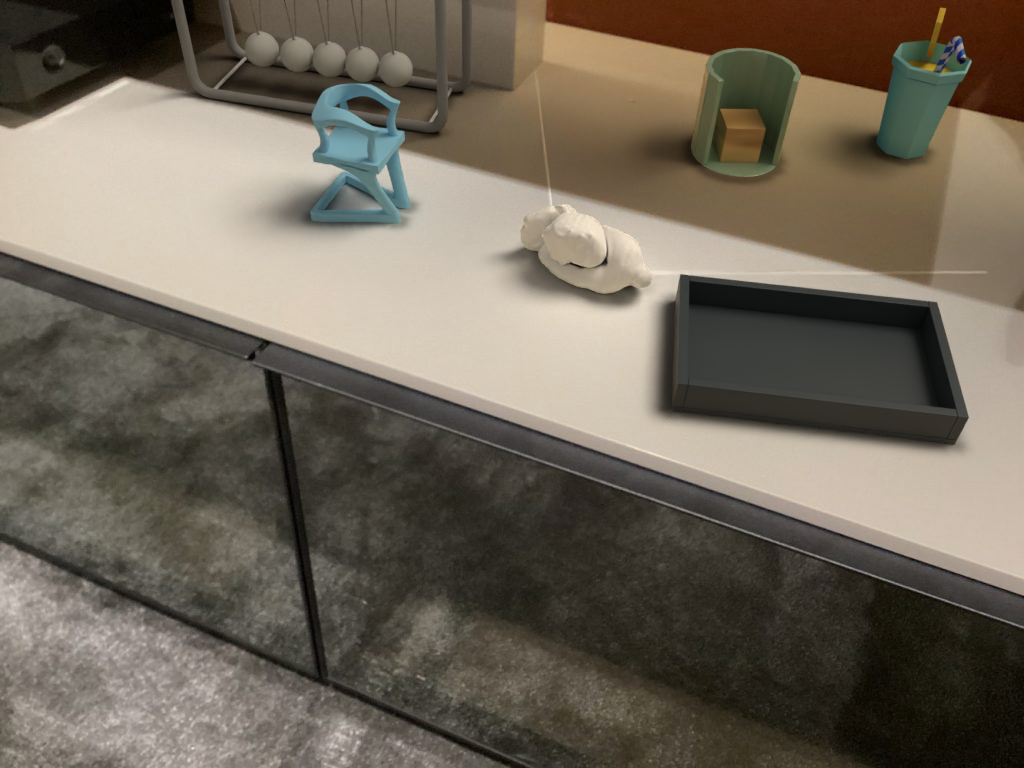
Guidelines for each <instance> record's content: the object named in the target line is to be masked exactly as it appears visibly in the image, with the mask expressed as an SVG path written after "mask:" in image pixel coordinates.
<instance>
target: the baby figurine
mask: <svg viewBox="0 0 1024 768" xmlns="http://www.w3.org/2000/svg"><path fill="white" fill-rule="evenodd" d="M523 223H524V224H523V225H522V227H521V228H520V230H519V232H520V241H521V243H522V244H523V245H524V247H525V248H526V249H527V250H530V251H532V252H533V251H534V252H538V255H537V256H538V260H539V261H540V262H541V264H542V265H543V266H545V268H546V269H548V271H549V272H550V273H551V274H552V275H554V276H555V277H556V278H557V279H560V280H562V281H564V282H566V283H567V284H570V285H572V286H575V287H577V288H581V289H587V290H590V291H592V292H595V293H597V294H603V295H605V294H606V295H607V294H613V293H616V292H618V291H621V290H623V289H624V288H626V287H628V286H632V287H634V288H637V289H645V288H648V287H649V286H650V284H651V283H652V281H653V272H652V270H650V268H649V267H647V266H646V265H645V263H644V258H643V249H642V246H641V245H640V244H639V242H638V241H637V240H636V239H635V238H634V237H633V236H632V235H630V234H628V233H626V232H624V231H622V230H621V229H617V228H615V227H611V226H609V225H605V224H603V225H601V223H600V222H599V221H598V220H597V219H596V218H594V217H593V216H591V215H589V214H585V213H581V212H580V213H579V211H577V210H576V209H575V208H574V207H572V206H571V205H570V204H567V203H563V204H556V205H555V206H553V205H551V206H550V205H549V206H546V207H544V208H542V209H539V210H537V211H536V212H533V213H530V214H527V215H525V216H524V217H523ZM605 260H606V262H607V263H606V264H603V262H604V261H605ZM571 263H572V264H571ZM577 265H578V266H577ZM579 266H580V267H579Z"/></svg>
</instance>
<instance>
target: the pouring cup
mask: <svg viewBox="0 0 1024 768" xmlns="http://www.w3.org/2000/svg"><path fill="white" fill-rule="evenodd" d="M801 77H802V72H801V71H800V69H799V67H798V65H797V64H796V63H794V62H793V61H791V60H790V59H789V58H787V57H786V56H783V55H780V54H779V53H775V52H773V51H769V50H764V49H759V48H752V47H736V48H734V47H733V48H728V49H723V50H720V51H717V52H716V53H714V54H712V55H710V56H709V57H708V59H707V61H706V63H705V67H704V74H703V78H702V83H701V88H700V94H699V99H698V104H697V111H696V115H695V121H694V122H695V123H694V128H693V133H692V138H691V145H690V149H691V150H690V151H691V155H692V156H693V157H694V159H695V160H696V161H697V162H698V163H699V164H700V165H702V166H703V167H705V168H706V169H708V170H710V171H713V172H715V173H718V174H722V175H725V176H730V177H739V178H741V177H742V178H750V177H757V176H761V175H765V174H767V173H770V172H771V171H773V170H774V169H775V168H776V167H777V166H778V164H779V161H780V158H781V155H782V151H783V148H784V144H785V139H786V135H787V131H788V127H789V124H790V120H791V116H792V112H793V108H794V105H795V100H796V96H797V92H798V88H799V85H800V81H801ZM720 109H758V112H759V114H760V116H761V119H762V121H763V123H764V126H765V128H766V130H765V134H764V138H763V143H762V147H761V151H760V155H759V159H758V163H732V162H720V161H719V158H718V155H717V152H716V149H715V146H714V144H713V140H714V135H715V130H716V125H717V120H718V115H719V110H720Z"/></svg>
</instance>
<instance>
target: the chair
mask: <svg viewBox="0 0 1024 768" xmlns="http://www.w3.org/2000/svg"><path fill="white" fill-rule="evenodd" d="M359 97H368V98H371V99H373V100H375V101H377V102H379V103H380V104H382V105H383V106H385V107H386V108H387V109H389V112H388V114H387V116H388V119H387V126H386V127H377V126H374V125H373V124H369V123H366V122H365V121H363V120H362V119H360V118H359V117H357V116H356V115H354V114H352V113H351V112H349V110H350V109H349V106H348V102H347V101H349V100H351V99H354V98H359ZM315 104H316V105H315V108H314V110H313V113H312V114H311V121H312V123H313V125H314V128H315V130H316V132H317V133H318V136H319V140H320V141H319V145H318V146H317V147H316V148H315V150H314V151H313V152H312V154H311V155H312V161H313V162H312V163H317V164H322V165H329V166H333V167H335V168H338V169H341V170H343V171H341V172H340V173H339V174H338V175H337V177H336V178H335V180H334V181H333V182H332V184H330V185H329V187H328V188H327V189H326V191H325V192H324V193H323V195H322V196H321V197H320V199H319V200H318V201H317V202H316V204H315V205H314V206H313V207H312V208H311V209H310V212H309V213H310V219H311V221H313V222H321V223H382V224H384V223H385V224H399V223H401V221H402V218H401V213H400V211H399V209H402V210H409V209H410V208H411V201H410V197H409V192H408V189H407V188H408V187H407V184H406V180H405V177H404V173H403V169H402V163H401V158H400V151H399V150H400V147H401V146H402V145H403V143H405V141H406V135H405V133H406V132H405V131H406V130H405V131H404V130H398V128H396V125H395V119H396V117H397V113H398V109H399V107H400V104H401V100H399V99H396V98H394V97H393V96H391V95H389V94H387V93H386V92H385V91H383V90H382V89H381V88H379V87H377V86H375V85H373V84H370V83H344V84H337V85H333V86H330V87H328V88H326V89H324V90H323V91H322V92H321V94H320V96H319V98H318V99H317V101H316V103H315ZM337 105H339V107H337ZM333 126H335V127H334V128H333V129H332V131H330V133H329V134H328V132H327V130H326V129H325V128H326V127H333ZM385 167H386V168H387V171H388V175H389V179H390V184H391V188H392V190H390V189H388V188H387V187H386V188H385V187H384V186H381V184H380V182H379V180H378V178H377V175H378V176H379V175H380V174H381V173H382V171H383V170H384V168H385ZM345 184H348V185H351V186H352V187H355V188H357V189H359V190H361V191H363V192H365V193H367V194H369V195H370V196H372V197H373V198H374V199H375V200H376V202H377V203H378V204H379V206H380V207H381V208H366V209H365V208H362V209H361V208H359V209H327V208H328V206H329V204H330V203H331V202H332V200H333V199H334V198H335V197H336V195H337V194H338V193H339V191H340V190H341V189H342V188H343V186H344V185H345ZM398 208H399V209H398Z"/></svg>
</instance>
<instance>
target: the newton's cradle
mask: <svg viewBox="0 0 1024 768" xmlns="http://www.w3.org/2000/svg"><path fill="white" fill-rule="evenodd" d="M261 1H262V0H258V7H259V28H258V23H257V19H256V15H255V10H254V6H253V2H252V0H249V4H250V8H251V13H252V16H253V21H254V24H255V30H256V32H253V33H252V34H250V35H249V36H248V37H247V39H246V40H245V43H244V49H243V48H241V46H240V45H239V44H238V42H237V39H236V33H235V29H234V23H233V17H232V11H231V7H230V0H217V2H218V6H219V11H220V16H221V22H222V27H223V33H224V39H225V42H226V45H227V48H228V49H229V50H230V52H231V53H232V54H233V55H234V56H235V57H236V58H237V59H240V60H239V61H238V63H237V64H236V65H235V66H234V67H232V68H231V69H230V71H228V72H227V74H226V75H225V76H224V77H223V78H222V79H221V80H220V81H219V82H218V83H216V85H215V86H214V87H209V86H207V85H206V84H204V82H202V81H201V79H200V77H199V72H198V67H197V63H196V58H195V53H194V49H193V43H192V39H191V34H190V31H189V25H188V21H187V15H186V12H185V11H186V10H185V6H184V2H183V0H170V3H171V7H172V11H173V15H174V21H175V25H176V29H177V34H178V38H179V43H180V47H181V53H182V56H183V61H184V65H185V66H184V67H185V70H186V75H187V78H188V81H189V84H190V85H191V86H192V88H193V89H194V90H195V91H196V92H197V93H198V94H200V96H203V97H205V98H207V99H211V100H212V99H213V100H219V101H224V102H231V103H236V104H243V105H250V106H257V107H263V108H270V109H275V110H281V111H289V112H293V113H299V114H307V115H312V113H313V110H314V108H315V105H316V103H309V102H303V101H297V100H296V101H295V100H290V99H283V98H277V97H271V96H264V95H258V94H252V93H245V92H239V91H232V90H228V89H227V90H226V89H220V88H221V87H222V86H223V85H224V83H226V81H227V80H228V79H229V78H231V76H232V75H234V73H235V72H236V71H237V70H238V69H239V68H240V67H241V66H243V64H244V63H245V62H250V63H251V64H253V65H254V66H256V67H259V68H267V67H270V66H274V67H281V68H286V69H287V70H288V71H291V72H293V73H304V72H307V71H309V72H316V73H319V74H320V75H321V76H323V77H326V78H336V77H338V76H342V77H349V78H351V79H353V80H354V81H356V82H358V83H368V82H371V81H375V82H381V83H385V84H386V85H387V86H389V87H392V88H401V87H403V86H409V87H414V88H421V89H427V90H434V91H436V103H437V104H436V105H437V107H436V109H435V111H434V113H433V114H432V116H431V117H430V119H429V121H424V120H418V119H411V118H404V117H399V116H396V119H395V125H396V129H401V130H409V131H414V132H421V133H427V134H432V133H433V134H434V133H436V132H439V131H441V130H442V129H443V128H445V126H446V125H447V123H448V119H449V97H450V95H451V94H452V93H459V92H462V91H464V90H466V89H467V88H469V86H470V84H471V82H472V79H473V0H461V77H460V79H459V80H458V81H449V80H448V78H449V77H448V76H449V75H448V31H447V28H448V27H447V26H448V25H447V24H448V23H447V0H434V27H435V29H434V32H435V64H436V65H435V67H436V68H435V69H436V71H435V72H436V79H435V78H428V77H420V76H414V75H413V70H414V67H413V63H412V60H411V59H410V58H409V57H408V56H407V54H404V53H403V52H401V51H397V42H398V41H397V38H398V37H397V36H398V35H397V34H398V33H397V31H398V29H397V27H398V26H397V25H398V24H397V23H398V21H397V20H398V19H397V18H398V17H397V16H398V15H397V13H398V0H394V4H395V5H394V42H393V34H392V28H391V27H392V26H391V21H390V19H391V18H390V12H389V5H388V0H385V7H386V15H387V22H388V29H389V36H390V37H389V38H390V44H391V50H392V51H389V52H387V53H385V54H384V55H383V56H382V57H381V58H380V59H379V56H378V55H377V53H376V52H375V51H374V50H373V49H371V48H370V47H368V46H364V21H363V19H364V18H363V17H364V16H363V15H364V13H363V11H364V10H363V0H360V30H361V31H360V33H361V35H359V31H358V24H357V19H356V14H355V13H356V12H355V8H354V2H353V0H350V3H351V10H352V15H353V21H354V27H355V33H356V38H357V45H358V46H357V47H355V48H352V49H350V51H349V52H348V53H347V54H346V51H345V50H344V48H343V47H342V46H341V45H339V43H337V42H333V41H331V36H330V35H331V33H330V5H329V3H330V2H329V0H326V8H327V9H326V10H327V35H328V36H327V35H326V30H325V25H324V20H323V16H322V15H323V14H322V11H321V6H320V1H319V0H316V2H317V8H318V12H319V17H320V22H321V27H322V31H323V36H324V37H323V38H324V41H323V42H321V43H320V44H318V45H317V46H316V47H315V49H314V48H313V46H312V44H311V43H310V42H309V41H308V40H307V39H305V38H303V37H299V36H298V29H297V28H298V27H297V7H296V0H293V10H294V12H293V13H294V14H293V15H294V29H295V30H294V31H295V32H293V27H292V23H291V17H290V14H289V10H288V4H287V1H286V0H283V2H284V7H285V11H286V16H287V19H288V24H289V28H290V29H289V30H290V32H291V36H292V37H289V38H288V39H286V40H285V41H284V42H283V43H282V44H281V47H279V43H278V41H277V40H276V38H275V37H274V36H273V35H271V34H269V33H268V32H265V31H263V27H262V26H263V25H262V23H263V22H262V4H261V3H262V2H261ZM294 33H295V35H294ZM359 36H360V37H361V43H360V37H359ZM349 112H351V113H352V114H354V115H356V116H357V117H359V118H360V119H362V120H363V121H365V122H366V123H368V124H370V125H376V126H382V127H387V119H388V115H385V114H379V113H373V112H366V111H359V110H354V109H349Z"/></svg>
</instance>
